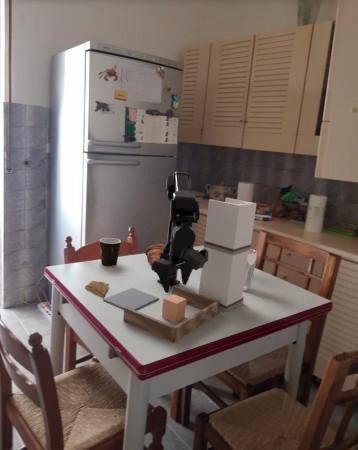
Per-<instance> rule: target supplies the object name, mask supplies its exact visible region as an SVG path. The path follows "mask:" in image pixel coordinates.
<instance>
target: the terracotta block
mask: <svg viewBox="0 0 358 450" xmlns="http://www.w3.org/2000/svg"><path fill="white" fill-rule="evenodd" d="M186 306H187V303H186V299H185V298H183V297H180V296H177V295H174V294H172V293H171V294H170V295H168V296H166V297H164V298H163V299H162V310H161V312H162V313H161V317H162V318H164V319H167V320H168V321H171V322H174V323H177V322H178V321H180V320H182V319H183V318H185V316H186Z"/></svg>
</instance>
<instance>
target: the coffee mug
mask: <svg viewBox="0 0 358 450" xmlns="http://www.w3.org/2000/svg"><path fill="white" fill-rule="evenodd" d="M121 244H122V241H121V239H118V238H115V237H114V238H113V237H104V238H100V239H99V248H100V249H99V250H100V262H101V263H100V264H101V265H102V266H104V267H115V266H117V265H118V260H119V255H120V250H121V249H120V248H121Z"/></svg>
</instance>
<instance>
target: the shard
mask: <svg viewBox="0 0 358 450" xmlns="http://www.w3.org/2000/svg"><path fill="white" fill-rule="evenodd" d="M109 285H110V284H109V283H108V282H105V281H97V280H90V281H89V283H88V284H86V285H85V286H84V288H85V289H87V290H90V291H91V292H92V293H93V294H96V295H97V296H100V297H101V298H105V297H104V296H105V293H106V291H107V289H108V288H109Z"/></svg>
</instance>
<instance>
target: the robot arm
mask: <svg viewBox="0 0 358 450" xmlns="http://www.w3.org/2000/svg"><path fill="white" fill-rule="evenodd" d="M191 190H192V178H191V177H190V174H189V173H188V172H183V171H182V172H181V171H174V172H173V174H171V175H169V176H167V177H166V182H165V191H166V193H167V194H166V195H167V198H168V200H169V201H170V203H169V217H168V218H169V219H168V228H167V229H168V230H167V240H166V241H165V243H164V245H163V247H162V252H160V257H159V260H156V261H154V262H153V263H152V266H151V268H150V269H151V271H153V273H156V275H157V277H158V279H157V280H156V282H157V283H159V284H161V286H162V288H163V291H164V293H166V294H169V293H170V290H171V289H170V287H172V286H176V285H177V284H180V282H182V285H184V286H187V283H188V281H189V278H190V277H191V275H192V272H193V270H194V271H198V270H199V269H200V270H201V269H202V268H203V266H204V264H205V262H207V261H208V251H207V250H206V249H204V248H202V249H201V250H199V249H195V248H194V245H195V242H196V234H195V231H194V229H193V224H198V222H199V220H200V204H199V201H198V200H197V199H196V196H195V194H194V193H192V192H191ZM178 270H180V274H181V281H180V280H178Z"/></svg>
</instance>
